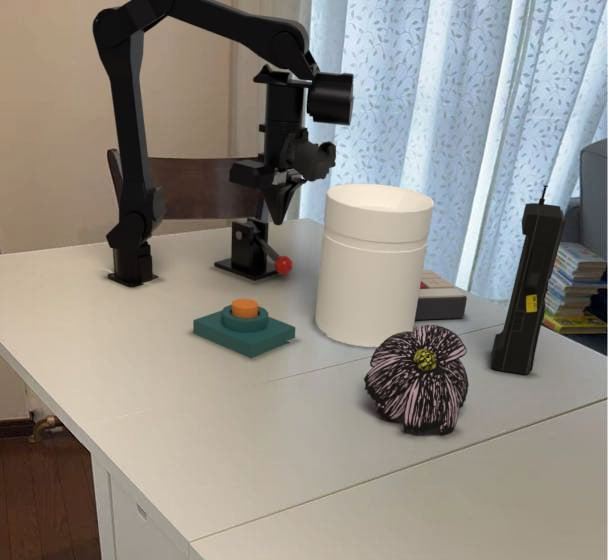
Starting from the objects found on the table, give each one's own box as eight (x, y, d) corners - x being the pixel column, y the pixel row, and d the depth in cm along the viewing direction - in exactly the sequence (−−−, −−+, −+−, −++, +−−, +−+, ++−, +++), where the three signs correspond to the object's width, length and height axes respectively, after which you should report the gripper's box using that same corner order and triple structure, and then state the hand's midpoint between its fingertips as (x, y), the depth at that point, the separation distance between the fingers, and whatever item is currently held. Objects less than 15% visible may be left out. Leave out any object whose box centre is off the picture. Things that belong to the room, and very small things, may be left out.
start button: (226, 314, 120) (226, 302, 119) (244, 307, 123) (244, 296, 122) (245, 321, 118) (246, 310, 117) (263, 315, 121) (264, 304, 120)
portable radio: (531, 379, 118) (578, 202, 103) (490, 373, 119) (531, 196, 104) (530, 358, 125) (574, 188, 110) (491, 352, 125) (530, 182, 110)
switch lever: (292, 276, 143) (298, 261, 141) (280, 280, 141) (287, 265, 139) (247, 233, 145) (253, 218, 143) (235, 236, 143) (241, 221, 141)
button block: (193, 333, 122) (193, 308, 120) (237, 317, 129) (238, 293, 126) (251, 358, 117) (252, 332, 114) (294, 340, 123) (296, 315, 121)
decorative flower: (354, 354, 97) (409, 288, 104) (334, 415, 107) (385, 350, 114) (459, 414, 95) (506, 342, 102) (429, 470, 105) (474, 401, 112)
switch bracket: (283, 274, 147) (286, 224, 142) (254, 283, 142) (256, 232, 137) (243, 260, 152) (244, 212, 147) (214, 268, 147) (214, 219, 142)
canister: (301, 334, 125) (312, 200, 113) (331, 302, 138) (344, 178, 126) (400, 354, 122) (421, 219, 110) (422, 320, 134) (443, 194, 122)
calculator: (432, 267, 145) (468, 292, 133) (429, 291, 148) (464, 318, 136) (376, 268, 142) (408, 294, 130) (373, 292, 145) (404, 320, 133)
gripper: (286, 134, 112) (280, 248, 121) (361, 122, 124) (350, 226, 133) (227, 120, 117) (225, 230, 126) (305, 110, 129) (298, 211, 138)
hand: (277, 224), depth 131 cm, fingers closed
